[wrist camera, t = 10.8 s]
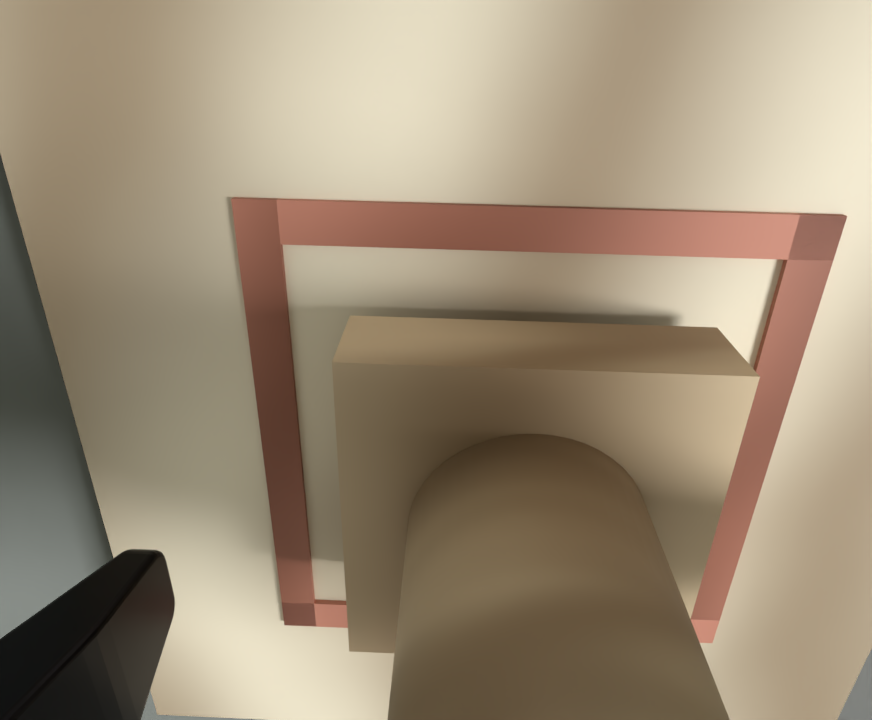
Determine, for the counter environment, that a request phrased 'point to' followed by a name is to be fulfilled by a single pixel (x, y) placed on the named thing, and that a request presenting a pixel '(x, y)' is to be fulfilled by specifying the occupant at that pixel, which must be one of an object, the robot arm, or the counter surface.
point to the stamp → (535, 511)
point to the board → (444, 284)
